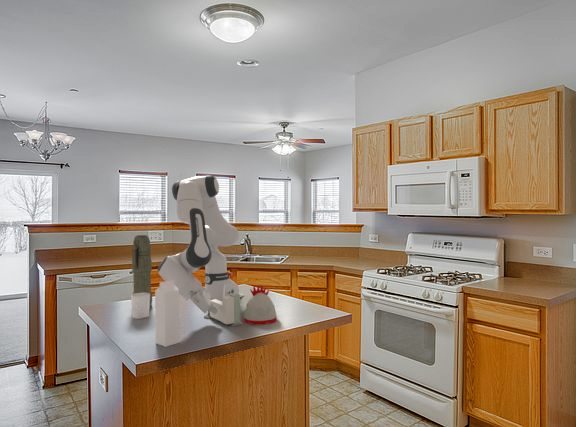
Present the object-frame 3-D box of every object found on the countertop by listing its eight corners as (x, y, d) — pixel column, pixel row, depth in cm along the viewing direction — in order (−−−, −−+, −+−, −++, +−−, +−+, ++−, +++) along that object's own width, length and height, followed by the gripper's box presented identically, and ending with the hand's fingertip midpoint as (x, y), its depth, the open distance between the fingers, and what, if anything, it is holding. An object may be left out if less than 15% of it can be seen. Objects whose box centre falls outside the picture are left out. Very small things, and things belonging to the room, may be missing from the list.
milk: (179, 342, 145) (179, 281, 145) (165, 347, 140) (164, 283, 140) (169, 339, 149) (169, 279, 149) (155, 343, 144) (154, 281, 144)
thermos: (127, 310, 193) (126, 236, 192) (140, 304, 204) (139, 234, 204) (144, 310, 191) (143, 236, 191) (156, 305, 203) (156, 234, 202)
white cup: (130, 319, 176) (130, 296, 176) (132, 315, 183) (132, 293, 183) (149, 318, 178) (149, 295, 178) (150, 314, 186) (150, 292, 185)
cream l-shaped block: (209, 316, 177) (208, 292, 177) (216, 315, 179) (216, 291, 179) (226, 324, 164) (226, 298, 164) (234, 322, 166) (233, 297, 166)
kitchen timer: (240, 317, 178) (240, 283, 178) (270, 314, 183) (270, 281, 183) (248, 326, 165) (248, 289, 165) (280, 322, 170) (280, 286, 170)
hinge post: (211, 314, 184) (211, 296, 184) (220, 316, 180) (220, 298, 180) (201, 317, 179) (200, 299, 179) (210, 319, 175) (209, 301, 175)
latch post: (227, 323, 169) (226, 294, 169) (237, 321, 172) (237, 293, 172) (232, 326, 165) (232, 296, 165) (243, 324, 168) (243, 295, 168)
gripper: (196, 288, 154) (222, 312, 156) (197, 279, 174) (220, 300, 176) (184, 300, 154) (211, 324, 156) (186, 290, 174) (210, 311, 176)
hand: (216, 312), depth 166 cm, fingers closed
